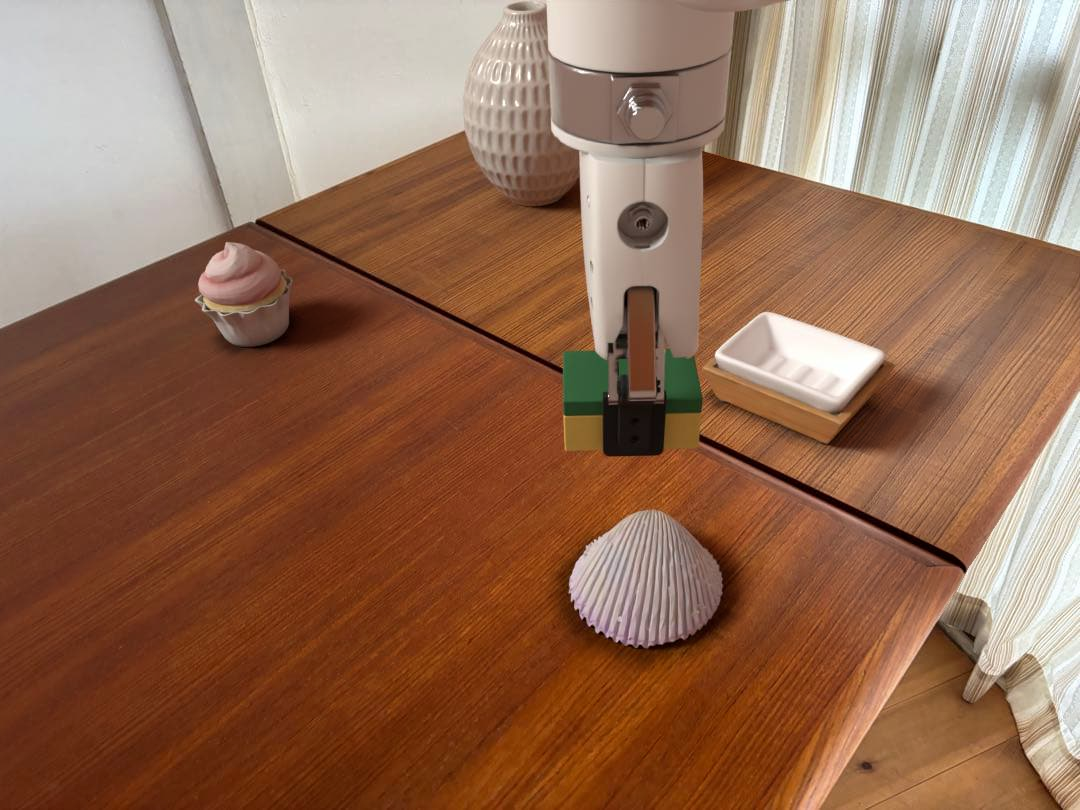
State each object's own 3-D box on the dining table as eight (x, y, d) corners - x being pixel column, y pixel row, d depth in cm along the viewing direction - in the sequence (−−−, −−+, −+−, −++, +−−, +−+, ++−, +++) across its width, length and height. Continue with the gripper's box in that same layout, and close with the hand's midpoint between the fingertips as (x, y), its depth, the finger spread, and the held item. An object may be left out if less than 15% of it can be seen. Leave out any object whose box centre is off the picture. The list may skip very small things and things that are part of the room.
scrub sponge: (688, 396, 49) (692, 347, 47) (698, 449, 46) (703, 398, 43) (564, 399, 49) (562, 350, 47) (564, 451, 46) (562, 401, 44)
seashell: (726, 500, 59) (731, 590, 50) (718, 564, 62) (722, 660, 53) (581, 486, 61) (561, 571, 52) (578, 549, 63) (559, 641, 54)
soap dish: (887, 399, 72) (899, 350, 69) (834, 460, 66) (845, 410, 63) (756, 349, 79) (762, 302, 75) (698, 401, 73) (702, 352, 70)
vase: (465, 225, 101) (443, 29, 87) (478, 170, 114) (460, -9, 100) (601, 222, 100) (600, 22, 87) (598, 167, 113) (598, -15, 99)
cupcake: (206, 318, 88) (176, 230, 81) (297, 298, 90) (274, 211, 84) (211, 367, 81) (178, 275, 74) (309, 344, 83) (285, 253, 77)
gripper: (763, 168, 29) (718, 531, 41) (701, 32, 42) (680, 334, 54) (546, 176, 30) (562, 533, 41) (552, 38, 43) (562, 337, 54)
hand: (629, 417), depth 47 cm, fingers closed on scrub sponge, 4 cm apart
